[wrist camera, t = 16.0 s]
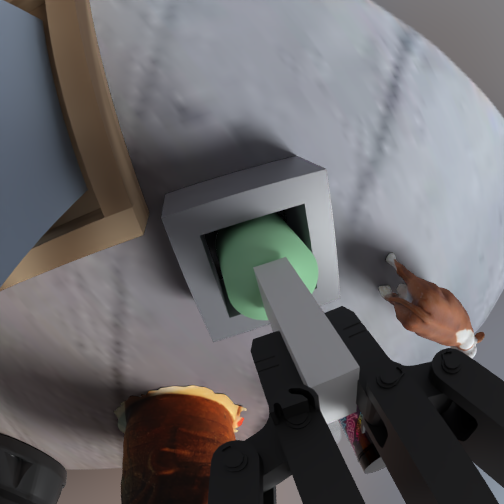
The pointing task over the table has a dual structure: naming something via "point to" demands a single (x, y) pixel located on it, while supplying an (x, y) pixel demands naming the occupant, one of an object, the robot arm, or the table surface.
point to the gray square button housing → (243, 209)
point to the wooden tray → (84, 146)
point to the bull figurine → (431, 311)
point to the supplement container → (361, 443)
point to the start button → (259, 259)
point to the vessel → (173, 443)
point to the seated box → (30, 141)
